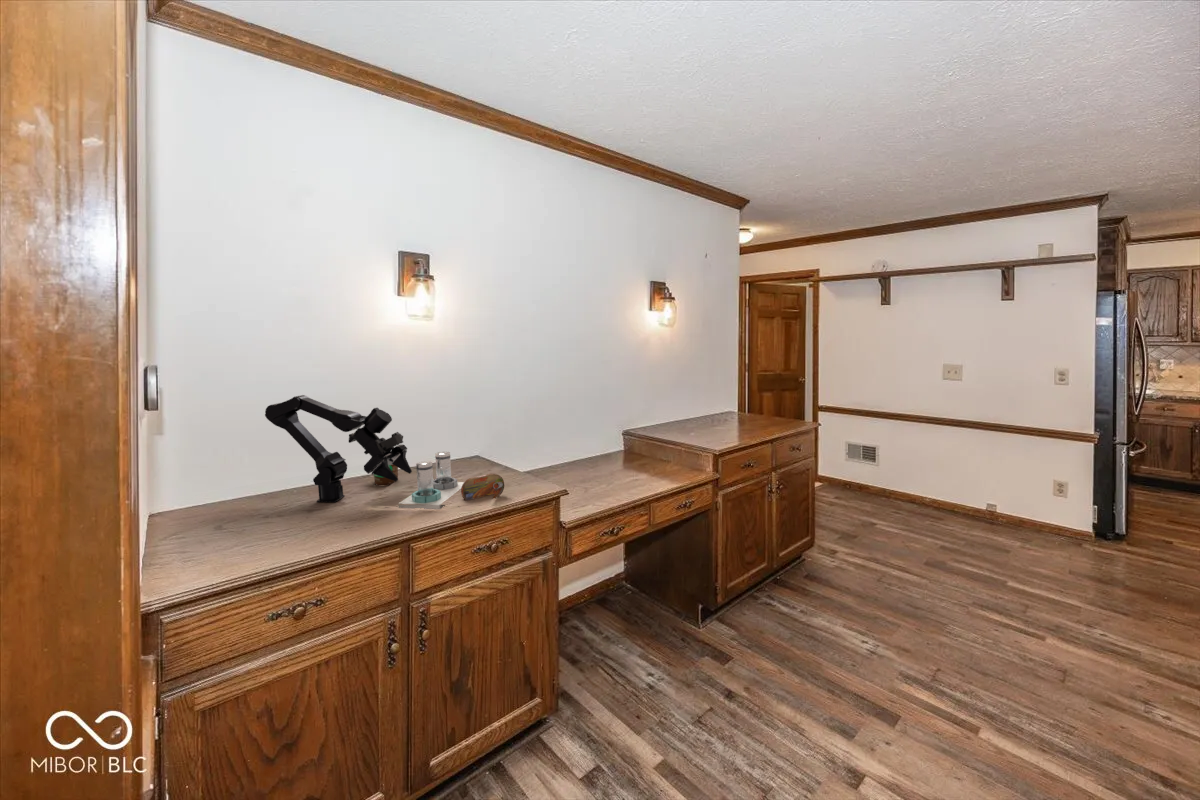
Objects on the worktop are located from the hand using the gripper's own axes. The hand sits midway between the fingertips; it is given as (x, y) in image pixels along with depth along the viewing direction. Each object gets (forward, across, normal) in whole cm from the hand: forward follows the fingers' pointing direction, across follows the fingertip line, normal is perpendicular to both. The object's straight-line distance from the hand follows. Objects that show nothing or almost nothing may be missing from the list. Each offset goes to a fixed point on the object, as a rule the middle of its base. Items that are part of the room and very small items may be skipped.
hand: (404, 476), depth 176 cm
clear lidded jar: (+10, +14, 0) cm, 17 cm away
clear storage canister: (+10, 0, 0) cm, 10 cm away
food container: (-7, +19, +20) cm, 28 cm away
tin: (+24, +6, -11) cm, 27 cm away
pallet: (+12, +7, +1) cm, 13 cm away
